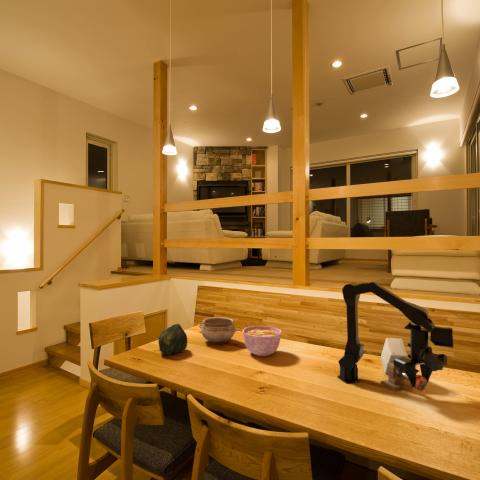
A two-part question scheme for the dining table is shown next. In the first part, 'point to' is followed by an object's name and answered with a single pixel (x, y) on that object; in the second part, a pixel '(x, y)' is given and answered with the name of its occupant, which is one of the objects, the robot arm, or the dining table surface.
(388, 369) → the wall mount bracket
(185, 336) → the squash
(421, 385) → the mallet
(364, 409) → the dining table surface
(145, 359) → the dining table surface
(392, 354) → the skincare box
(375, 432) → the dining table surface
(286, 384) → the dining table surface
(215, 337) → the cooking pot
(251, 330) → the bowl of food
